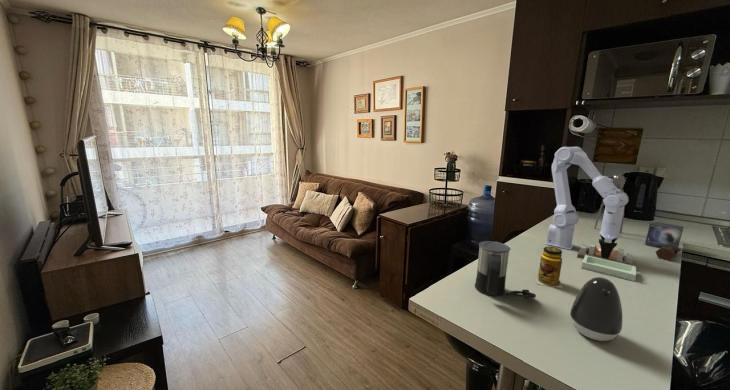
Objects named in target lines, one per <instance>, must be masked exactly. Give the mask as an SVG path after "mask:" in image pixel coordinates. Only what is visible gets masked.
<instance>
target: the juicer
mask: <svg viewBox="0 0 730 390" xmlns="http://www.w3.org/2000/svg"><path fill="white" fill-rule="evenodd" d="M611 179H612V180H613V181H612V183H613V184H614V185H615V186H616V187H617V188H618V189H620V190H621V191H620V192H624V188H623V187H624V185H625V182H626V181H625V176H624V175H622V174H616V175H613V177H612V178H611ZM624 193H625V192H624ZM604 206H605V204H604V202H603V201H602V202H601V205H600V206H599V207H600V208H599V210H598V214H597V217H596V220H595V224H594V230H597V226H598V222H599V219H600V216H601V213H602V212H603V208H604ZM622 207H623V206H622ZM624 217H625V211H624V212H623V218H622V223H621V227H620V232H619V234H622V231H623V227H624V226H623V225H624V220H625V219H624Z"/></svg>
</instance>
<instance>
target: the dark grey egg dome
mask: <svg viewBox="0 0 730 390" xmlns="http://www.w3.org/2000/svg"><path fill="white" fill-rule="evenodd" d="M622 308H623V307H622V301H621V297H620V294H619V291H618V289H617V287H616V285H615V284H614V283H613V282H612V281H611V280H610V279H608V278H605V277H601V276H599V277H593V278H590V279H589V280H588V281H587V282H585V283H584V285H583V286H582V287H581V289H580V290H579V292H578V293H577V295H576V297H575V298H574V301H573V303H572V306H571V309H570V313H569V315H570V317H571V321H572V324H573V325H574V328H575V329H576V330H577V331H578V332H579V333H580V334H582V335H583V336H584V337H587V338H589V339H591V340H593V341H599V342H606V341H607V342H608V341H612V340H613V339H615V338H616V337H617V336H618V334H620V333H621V332H622V329H623V309H622Z"/></svg>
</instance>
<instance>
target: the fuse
mask: <svg viewBox="0 0 730 390" xmlns="http://www.w3.org/2000/svg"><path fill="white" fill-rule="evenodd" d="M596 244H597V243H594V242H590V245H589V248H590V249H589V253H588V254H589V255H593V256H597V257H601V246H598V245H596ZM624 252H625V249H622V248H618V250H616V249H613V250H612V252H611V254H610V256H609V258H608V259H611V260H615V261H620V262H623V261H622V258H623V256H624ZM606 259H607V258H606Z"/></svg>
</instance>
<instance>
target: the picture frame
mask: <svg viewBox="0 0 730 390" xmlns="http://www.w3.org/2000/svg"><path fill="white" fill-rule="evenodd" d="M683 231H684V226H683V225H676V224H673V223H672V224H670V223H665V222H660V221H655V220H652V221H650V223H649V226H648V230H647V235H646V237H645V243H644V245H645V246H648V247H653V248H658V249H660V248H661V247H665V246H666V245H668V244H673V245H676V246H677V247H678V248H679V245H680V242H681V240H682V239H681V238H682V235H683Z"/></svg>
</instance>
